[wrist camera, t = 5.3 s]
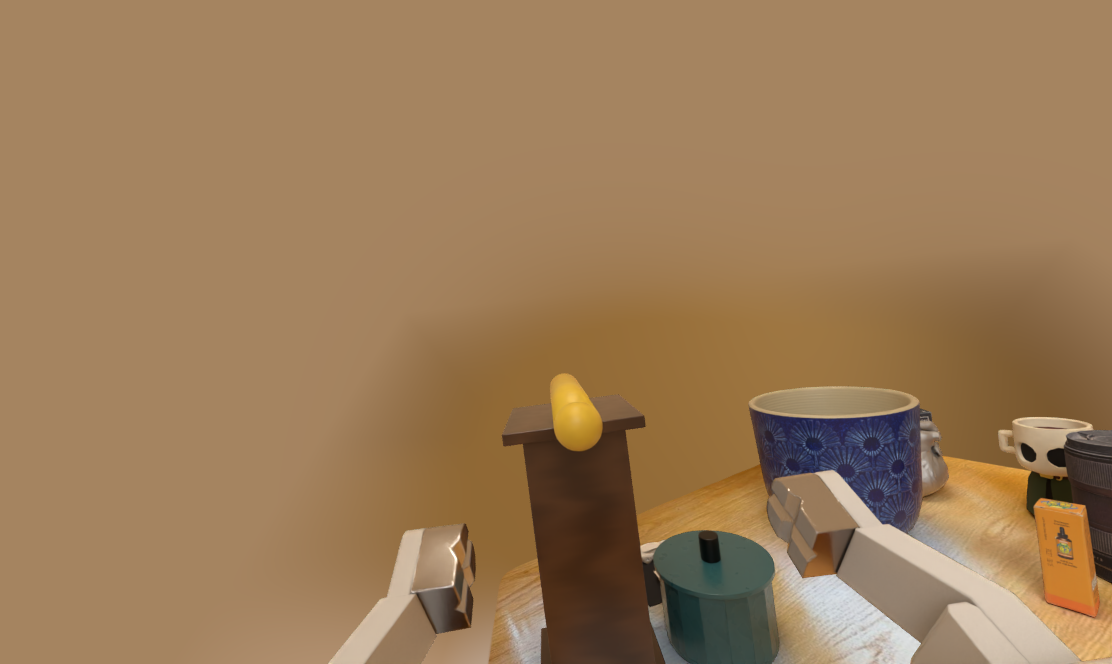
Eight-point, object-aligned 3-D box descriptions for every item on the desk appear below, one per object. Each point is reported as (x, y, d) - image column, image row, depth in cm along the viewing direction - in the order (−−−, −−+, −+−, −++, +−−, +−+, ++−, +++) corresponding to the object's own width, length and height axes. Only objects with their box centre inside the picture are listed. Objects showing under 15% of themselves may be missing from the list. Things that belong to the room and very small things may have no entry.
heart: (868, 474, 77) (862, 413, 75) (933, 475, 73) (929, 410, 71) (887, 508, 67) (882, 439, 66) (963, 510, 64) (960, 438, 62)
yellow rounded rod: (609, 453, 26) (602, 402, 26) (557, 461, 26) (551, 409, 26) (579, 398, 48) (575, 370, 48) (551, 401, 48) (548, 373, 48)
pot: (687, 684, 39) (676, 604, 38) (655, 606, 50) (647, 543, 49) (803, 666, 39) (793, 587, 39) (746, 593, 50) (738, 530, 50)
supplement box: (1102, 603, 42) (1090, 504, 42) (1096, 619, 40) (1083, 515, 40) (1051, 588, 44) (1039, 495, 44) (1043, 602, 43) (1031, 505, 43)
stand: (541, 744, 35) (501, 434, 35) (542, 638, 47) (512, 408, 47) (683, 722, 35) (644, 415, 35) (648, 622, 47) (618, 394, 47)
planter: (876, 591, 47) (855, 425, 47) (734, 523, 66) (718, 404, 66) (971, 534, 55) (953, 392, 55) (820, 488, 74) (806, 382, 74)
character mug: (994, 511, 60) (983, 422, 60) (1018, 497, 63) (1008, 412, 63) (1116, 543, 50) (1103, 436, 50) (1139, 525, 53) (1126, 424, 53)
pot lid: (674, 615, 38) (668, 576, 38) (643, 547, 50) (639, 517, 50) (802, 596, 38) (797, 557, 38) (741, 533, 50) (737, 503, 50)
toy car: (706, 575, 54) (704, 561, 54) (663, 589, 52) (662, 576, 52) (669, 545, 62) (668, 534, 62) (632, 557, 60) (630, 545, 60)
